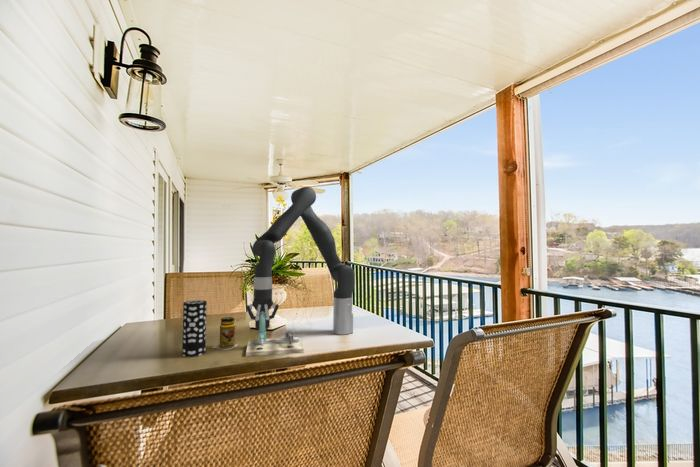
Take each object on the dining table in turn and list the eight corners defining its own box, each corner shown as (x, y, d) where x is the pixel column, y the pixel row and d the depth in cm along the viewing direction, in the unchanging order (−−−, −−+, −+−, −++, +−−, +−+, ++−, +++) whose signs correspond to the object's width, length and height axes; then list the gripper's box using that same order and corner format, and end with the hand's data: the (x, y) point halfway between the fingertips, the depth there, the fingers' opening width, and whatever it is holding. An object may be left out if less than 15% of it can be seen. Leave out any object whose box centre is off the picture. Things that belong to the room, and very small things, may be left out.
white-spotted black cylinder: (190, 358, 127) (191, 304, 127) (177, 354, 131) (178, 302, 132) (209, 352, 134) (211, 301, 134) (197, 349, 138) (198, 299, 139)
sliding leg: (265, 339, 143) (266, 311, 144) (265, 345, 134) (266, 316, 135) (258, 339, 143) (259, 312, 143) (258, 346, 134) (258, 316, 134)
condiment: (228, 350, 137) (229, 320, 137) (211, 348, 140) (211, 318, 140) (239, 345, 144) (240, 316, 144) (222, 343, 146) (223, 315, 147)
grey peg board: (300, 342, 148) (300, 328, 148) (303, 352, 135) (303, 337, 135) (247, 345, 143) (248, 331, 143) (245, 356, 129) (246, 340, 130)
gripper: (279, 286, 147) (279, 326, 147) (246, 286, 144) (245, 327, 143) (280, 288, 140) (279, 330, 139) (245, 289, 136) (244, 332, 136)
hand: (262, 328), depth 141 cm, fingers closed on sliding leg, 3 cm apart
